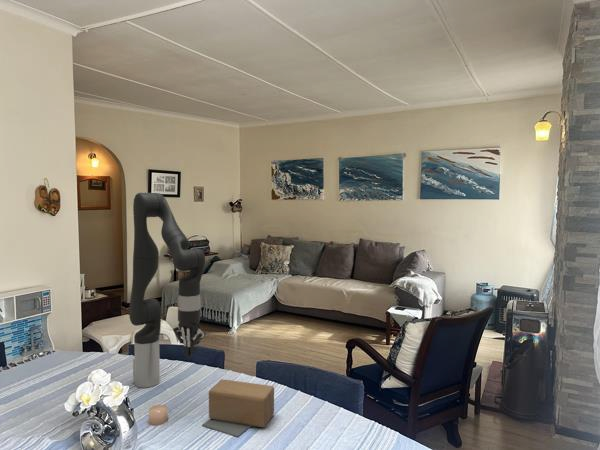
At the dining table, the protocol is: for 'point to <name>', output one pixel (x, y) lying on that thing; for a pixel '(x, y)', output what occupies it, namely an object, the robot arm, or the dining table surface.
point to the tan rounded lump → (158, 414)
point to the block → (241, 402)
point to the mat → (227, 427)
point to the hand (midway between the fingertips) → (189, 356)
